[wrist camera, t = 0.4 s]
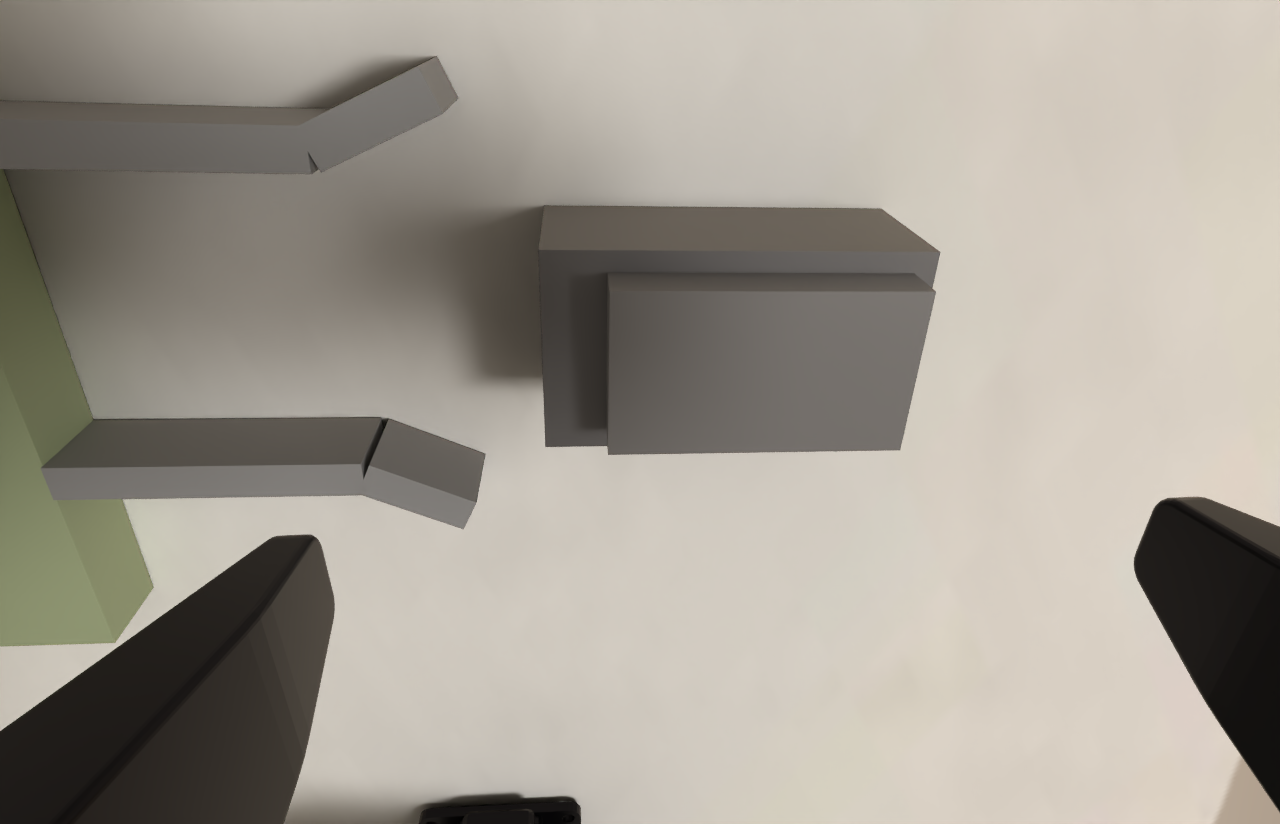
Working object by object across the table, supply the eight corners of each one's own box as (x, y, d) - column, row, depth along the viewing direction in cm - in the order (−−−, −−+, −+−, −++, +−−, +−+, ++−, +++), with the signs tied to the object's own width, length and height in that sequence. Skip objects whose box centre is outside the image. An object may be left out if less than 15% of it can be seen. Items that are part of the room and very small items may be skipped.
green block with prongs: (494, 578, 26) (473, 743, 20) (-147, 595, 24) (-362, 778, 19) (455, 56, 18) (402, 89, 12) (-493, 28, 16) (-1041, 52, 11)
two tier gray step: (849, 372, 23) (915, 467, 19) (549, 375, 23) (543, 473, 18) (878, 207, 21) (964, 269, 16) (544, 203, 20) (535, 267, 16)
